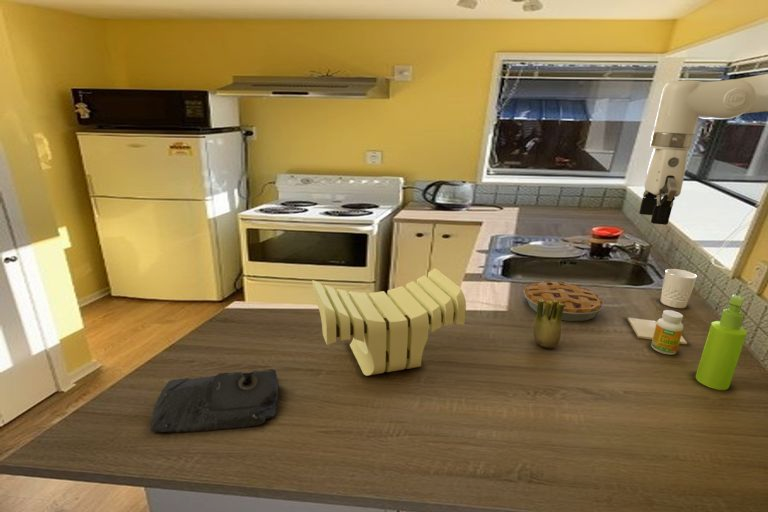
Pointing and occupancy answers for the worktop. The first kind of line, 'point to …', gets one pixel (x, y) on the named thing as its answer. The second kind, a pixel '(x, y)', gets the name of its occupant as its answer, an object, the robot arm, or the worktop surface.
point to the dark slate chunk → (216, 402)
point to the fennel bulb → (548, 324)
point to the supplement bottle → (668, 332)
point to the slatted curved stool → (390, 320)
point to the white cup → (677, 287)
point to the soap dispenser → (723, 347)
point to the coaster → (646, 329)
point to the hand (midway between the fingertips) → (652, 218)
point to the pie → (564, 299)
